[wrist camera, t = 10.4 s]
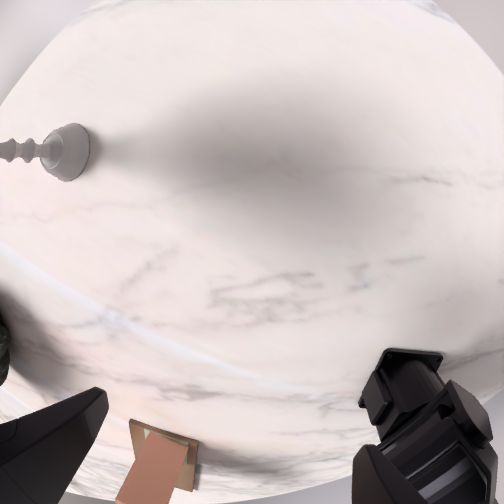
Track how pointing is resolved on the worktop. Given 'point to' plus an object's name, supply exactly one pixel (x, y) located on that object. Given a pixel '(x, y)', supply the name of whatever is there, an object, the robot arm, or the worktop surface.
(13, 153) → the chalice
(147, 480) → the terracotta block
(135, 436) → the walnut board
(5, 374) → the squash
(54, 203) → the worktop surface
